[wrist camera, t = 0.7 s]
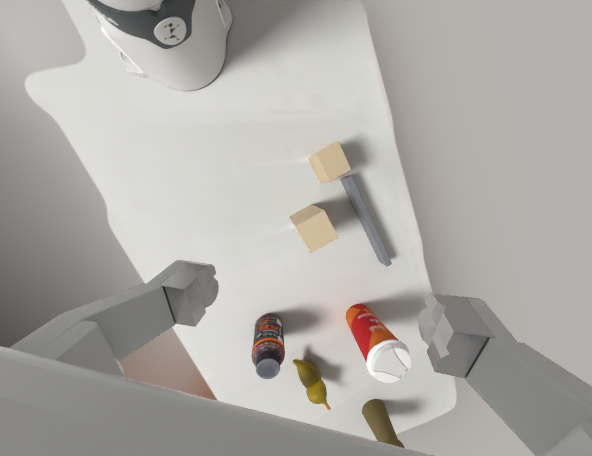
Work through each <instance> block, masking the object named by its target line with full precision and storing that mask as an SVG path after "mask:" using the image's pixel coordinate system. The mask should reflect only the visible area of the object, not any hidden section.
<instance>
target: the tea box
mask: <svg viewBox="0 0 592 456" xmlns="http://www.w3.org/2000/svg"><path fill="white" fill-rule="evenodd" d="M308 160H309V162H310V164H311V166H312V168H313V170H314V172H315V174H316V176H317V178H318V180H319V182H329V181H332V180H333V179H335V178H337V177H339V176H340V175H342V174H344V173H346V172H348V171H349V170H351V168H350V166H349V164H348V161H347V159H346V157H345V155H344V153H343V150H342V148H341V146H340V144H339V142H338V141H336V142H334V143H333V144H331V145H329V146H327V147H326V148H324V149H322V150H320V151H319V152H317V153H315V154H314V155H312V156H311V157H309V158H308Z"/></svg>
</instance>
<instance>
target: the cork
mask: <svg viewBox="0 0 592 456" xmlns="http://www.w3.org/2000/svg"><path fill="white" fill-rule="evenodd" d="M362 414H363V415H364V417H365V419H366V421H367V423H368V424H369V426H370V428H371V430H372V432H373V433H374V435H375V437H376V439H377V441H378V442H382V443H386V444H390V445H394V446H398V447H402V448H404V446H403V444H402V443H401V442H400V441H399V440H398V439H397V436H396V434H395V431H394V429H393V426H392V424H391V421H390V419H389V416H388V414H387V411H386V408H385V406H384V404H383V402H382V401H381V400H378V399H374V400H370V401H368V402H367V403H366V404H365V405H364V406H363V409H362Z"/></svg>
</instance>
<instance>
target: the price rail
mask: <svg viewBox="0 0 592 456" xmlns="http://www.w3.org/2000/svg"><path fill="white" fill-rule="evenodd" d="M340 180H341V182H342V184H343V186H344V188H345V190H346V192H347V194H348V196H349V199H350V201H351V203H352V205H353V207H354V209H355V211H356V213H357V215H358V217H359V220H360V222H361V224H362V226H363V228H364V230H365V232H366V234H367V236H368V238H369V241H370V243H371V245H372V247H373V249H374V251H375V253H376V255H377V257H378V260H379V262H381V263H382V264H384V265H385V266H389V265H391V264H392V263H391V260H390V258H389V256H388V254H387V252H386V250H385V247H384V245H383V243H382V241H381V239H380V237H379V234H378V232H377V230H376V228H375V226H374V223H373V221H372V219H371V217H370V215H369V213H368V210H367V208H366V206H365V204H364V202H363V200H362V197H361V195H360V193H359V191H358V189H357V186H356V184H355V182H354V180H353V178H352V176H345V177H344V178H342V179H340Z"/></svg>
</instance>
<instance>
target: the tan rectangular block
mask: <svg viewBox="0 0 592 456" xmlns="http://www.w3.org/2000/svg"><path fill="white" fill-rule="evenodd" d="M290 219H291V221H292V223H293V224H294V226H295V228H296V230H297V231H298V233H299V235H300V237H301V238H302V240H303V242H304V243H305V245H306V246H307V248H308V249H309V251H310V253H312V252H314V251H316V250H318V249H319V248H321V247H323V246H325V245H326V244H328V243H330V242H332V241H333V240H335V239H337V238H338V236H337V234H336V232H335V230H334V228H333V226H332V224H331V222H330V220H329V218H328V216H327V214H326V212H325V210H323V209H321V208H318V207H316V206H314V205H309V206H308V207H306V208H304V209H302V210H301V211H299V212H297V213H295V214H293V215H292V216H290Z"/></svg>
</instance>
